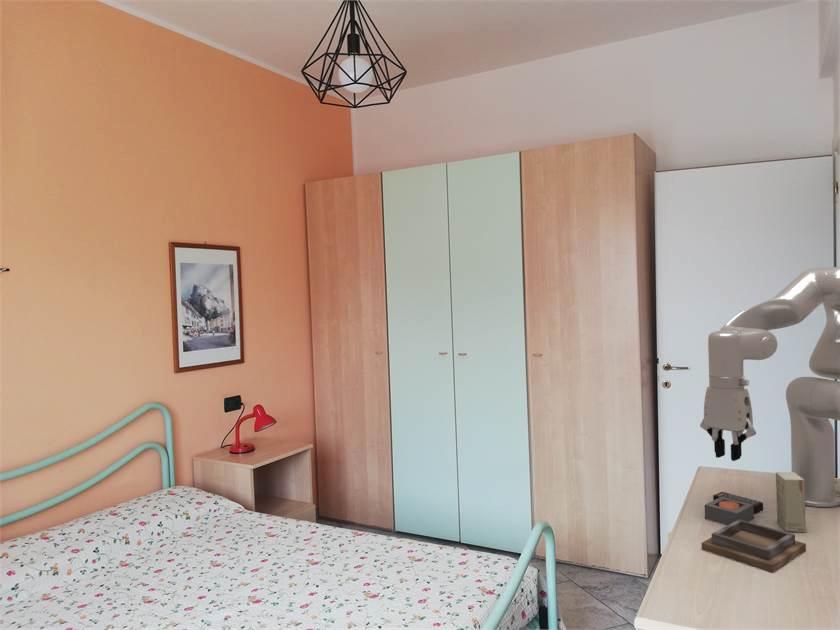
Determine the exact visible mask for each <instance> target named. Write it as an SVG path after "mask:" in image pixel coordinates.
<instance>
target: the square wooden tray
mask: <svg viewBox="0 0 840 630" xmlns="http://www.w3.org/2000/svg"><path fill="white" fill-rule="evenodd" d="M701 550H702V551H705V550H706V551H705V552H708V551H710V552H709V553H711V552H712V553H711V554H714V555H716V556H720V557H723V556H724V558H726V557H727V558H726V559H729V558H730V560H732V559H733V560H734V561H735V560H736V562H739V561H740V562H739V563H743V564H745V563H746V564H745V565H748V566H751V567H755V568H757V569H761V570H764V571H767V572H769V573H772V574H773V573H774V572H776V571H777V570H779V569H780V568H782V567H784V566H785V565H787V564H788V563H789V562H791V561H792V560H794V559H796V558H797V557H799V556H800V555H801V554H803V553H805V552H806V551H805V550H807V543H805V542H801V541H798V540H796V534H795V533H793V532H792V533H791V532H789V531H785V530H781V529H777V528H773V527H770V526H766V525H763V524H758V523H755V522H751V521H749V522H748V521H744V520H741V519H738V520H737V521H735V522H733V523H731V524H729V525H725V526H724V527H721V528H720V529H718V530H716V531H714V532H712V533H711V537H709V538H708V539H706V540H703V542H701ZM802 552H803V553H802ZM799 554H800V555H799ZM796 556H797V557H796ZM793 558H794V559H793ZM733 560H732V561H733ZM790 560H791V561H790Z"/></svg>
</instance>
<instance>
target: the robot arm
mask: <svg viewBox="0 0 840 630" xmlns="http://www.w3.org/2000/svg"><path fill="white" fill-rule="evenodd" d="M821 304H822V305H823V307H824V311H825V317H826V323H825V326H824V329H823V331H822V333H821V335H820V336H819V339H818V340H817V342H816V345H815V346H814V349H813V350H812V353H811V355H810V357H809V361H808V367H809V370H810V371H811V372H812V373H813V374H815V375H817V376H819V377H813V376H800V377H796V378H794V379H793V380H790V382H789V383H788V385H787V387H786V390H785V399H786V400H785V401H786V404H787V408H788V413H789V419H790V449H791V451H790V452H791V456H790V458H791V461H790V462H791V472H795V473H796V474H798V475H799V476H800V477H802V478H803V479H804V488H805V506H809V507H816V508H817V507H818V508H819V507H820V508H832V507H833V508H834V507H837V506H840V494H839V493H837V492H836V484H838V479H837V478H836V477H835V473H836V472H835V468H836V467H835V459H836V458H835V432H834V428H833V425H832V422H831V421H830V420H834V421H840V266H830V267H829V266H827V267H826V266H824V267H812V268H809V269H808V268H807V269H806V270H804V271H802V272H801V273H800V274H799V275H798V276H797V277H796V278H794V279H793V280H792V281H791V282H790V283H788V284H787V285H786V286H785V287H784V288H783V289H782V290H780V292H778V294H776V295H775V296H773V297H772V298H770V299H768V300H764V301H763V302H761V303H757V304H756V305H754V306H751V307H749V308H747V309H744V310H743V311H740V312H739V313H737V314H736V315H734V316H733V317H732V318H730V319H729V321H727V322H726V323H725V324H724V325H723V326H722V327H721V328H720V329H719V330H718V331H711V332H710V334H708V337H707V338H708V339H707V343H708V345H707V346H708V348H707V349H708V350H707V351H708V380H709V381H708V384H709V386H707V387H706V391H705V397H704V404H703V419H702V421H701V423H700V425H699V427H700V428H701V429H703V430H704V431H706V433H708V435H709V436H710V437H711V440H712V441H713V443H714V444H713V445H714V447H713V448H714V453H715V458H717V459H718V458H721V457H724V456H725V455H726V443H725V442H726V440H725V438H723V435H724V434H723V433H724V431H729V432H731V437H732V443H731V444H730V459H731V461H733V462H736V461H737V460H740V459H741V457H742V444H743V443H744V441H746V440H747V439H748V438H751V437H754V436H756V435H757V431H756V429H755V428H754V426H753V425H754V423H753V422H754V420H753V409H752V403H751V396H750V393H749V391H748V388H745V387H747V386H749V385H750V380H748V379H746V378H745V376H744V374H745V373H744V361H745V360H751V361H752V360H753V361H763V360H767V359H769V358H771V357H773V356H774V354H775V353H776V352H777V349H778V340H777V337H776V336H775V335H774V334H773V333H772V332H771V330H777V329H778V330H779V329H784V328H788V327H792V326H795V325H798V324H801V322H803V321H804V320H805V319H806V318H807V317H809V316H810V314H812V312H814V311H815V310H816V309H817V308H818V307H819V306H820V305H821ZM821 377H822V378H821ZM745 430H746V432H744V431H745ZM743 432H744V433H743Z"/></svg>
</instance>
